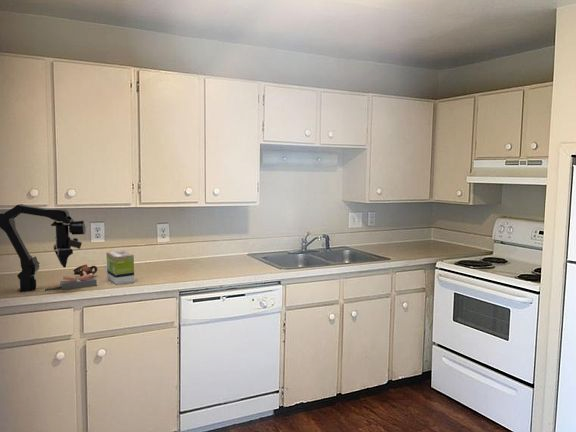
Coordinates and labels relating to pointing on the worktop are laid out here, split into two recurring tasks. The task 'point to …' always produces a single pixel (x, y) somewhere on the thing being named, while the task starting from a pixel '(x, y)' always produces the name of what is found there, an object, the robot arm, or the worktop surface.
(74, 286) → the power strip
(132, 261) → the tea box
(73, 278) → the rocker left
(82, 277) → the rocker right
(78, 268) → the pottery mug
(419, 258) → the worktop surface
